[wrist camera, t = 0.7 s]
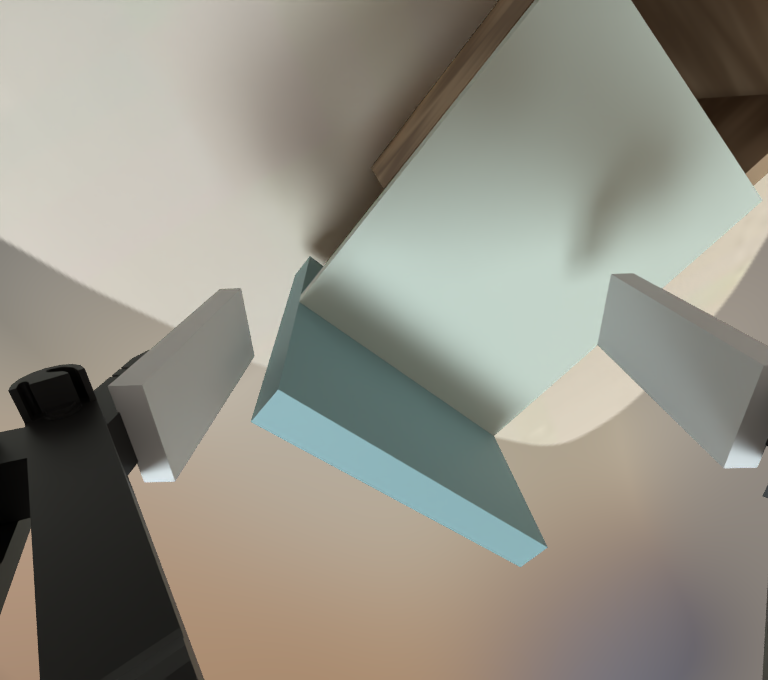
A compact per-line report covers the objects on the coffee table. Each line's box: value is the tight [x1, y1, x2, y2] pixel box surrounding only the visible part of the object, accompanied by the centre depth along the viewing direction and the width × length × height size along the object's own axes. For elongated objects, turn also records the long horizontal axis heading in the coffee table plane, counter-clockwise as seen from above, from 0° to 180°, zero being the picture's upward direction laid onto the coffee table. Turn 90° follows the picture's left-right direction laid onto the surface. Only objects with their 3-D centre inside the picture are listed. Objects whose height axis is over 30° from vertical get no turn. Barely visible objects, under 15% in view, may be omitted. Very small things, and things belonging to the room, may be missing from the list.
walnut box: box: [371, 0, 768, 190], centre depth 22 cm, size 16×13×9 cm
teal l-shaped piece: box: [251, 0, 763, 567], centre depth 19 cm, size 18×13×14 cm
